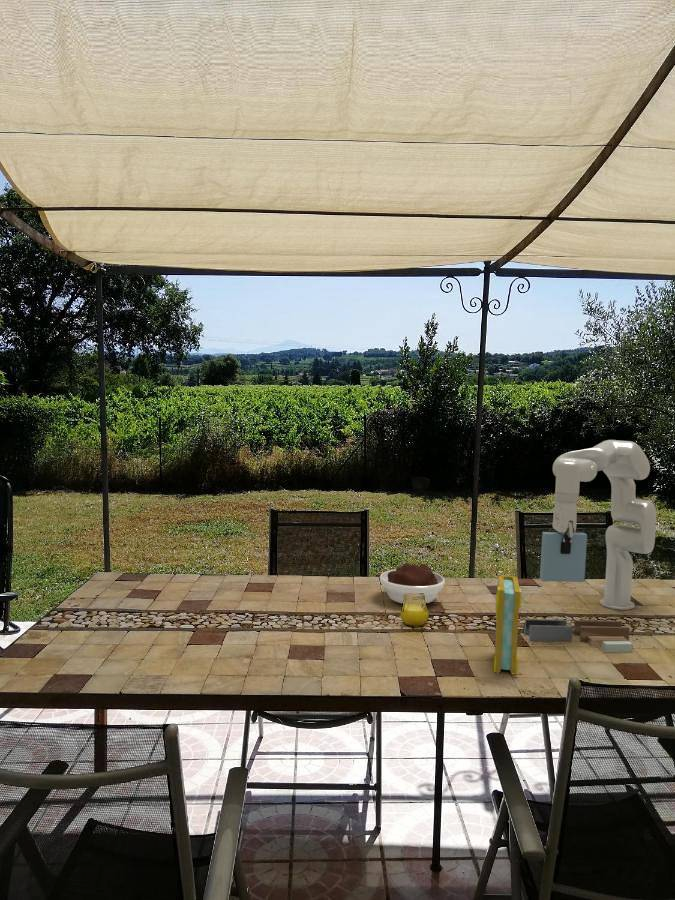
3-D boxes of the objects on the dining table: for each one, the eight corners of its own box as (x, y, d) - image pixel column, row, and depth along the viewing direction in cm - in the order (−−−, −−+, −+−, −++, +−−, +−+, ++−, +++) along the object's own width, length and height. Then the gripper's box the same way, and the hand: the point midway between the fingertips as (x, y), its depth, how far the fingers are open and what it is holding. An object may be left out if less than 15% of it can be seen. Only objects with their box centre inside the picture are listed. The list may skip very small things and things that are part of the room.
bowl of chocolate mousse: (365, 600, 275) (366, 562, 273) (405, 587, 293) (406, 551, 292) (418, 616, 258) (419, 576, 257) (456, 601, 276) (458, 563, 275)
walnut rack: (573, 634, 244) (574, 619, 244) (620, 635, 244) (621, 620, 244) (580, 641, 237) (581, 627, 237) (628, 642, 237) (629, 628, 237)
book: (517, 674, 209) (521, 592, 207) (493, 672, 211) (497, 590, 208) (514, 653, 226) (518, 576, 223) (493, 651, 227) (496, 574, 225)
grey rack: (524, 633, 244) (525, 619, 243) (565, 633, 244) (565, 619, 244) (530, 640, 237) (530, 626, 236) (571, 641, 237) (572, 627, 237)
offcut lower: (587, 643, 237) (587, 636, 237) (622, 643, 237) (623, 636, 237) (591, 647, 233) (592, 640, 233) (627, 647, 234) (628, 640, 234)
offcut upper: (602, 641, 231) (606, 644, 228) (629, 641, 231) (633, 644, 229) (601, 650, 231) (605, 653, 228) (628, 650, 232) (632, 653, 229)
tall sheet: (539, 578, 240) (542, 531, 238) (580, 579, 240) (583, 532, 239) (542, 581, 237) (545, 533, 235) (584, 582, 237) (587, 534, 236)
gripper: (547, 493, 244) (544, 546, 246) (563, 502, 227) (560, 558, 229) (569, 494, 244) (566, 546, 246) (587, 502, 228) (583, 558, 229)
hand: (563, 551), depth 237 cm, fingers closed on tall sheet, 3 cm apart
